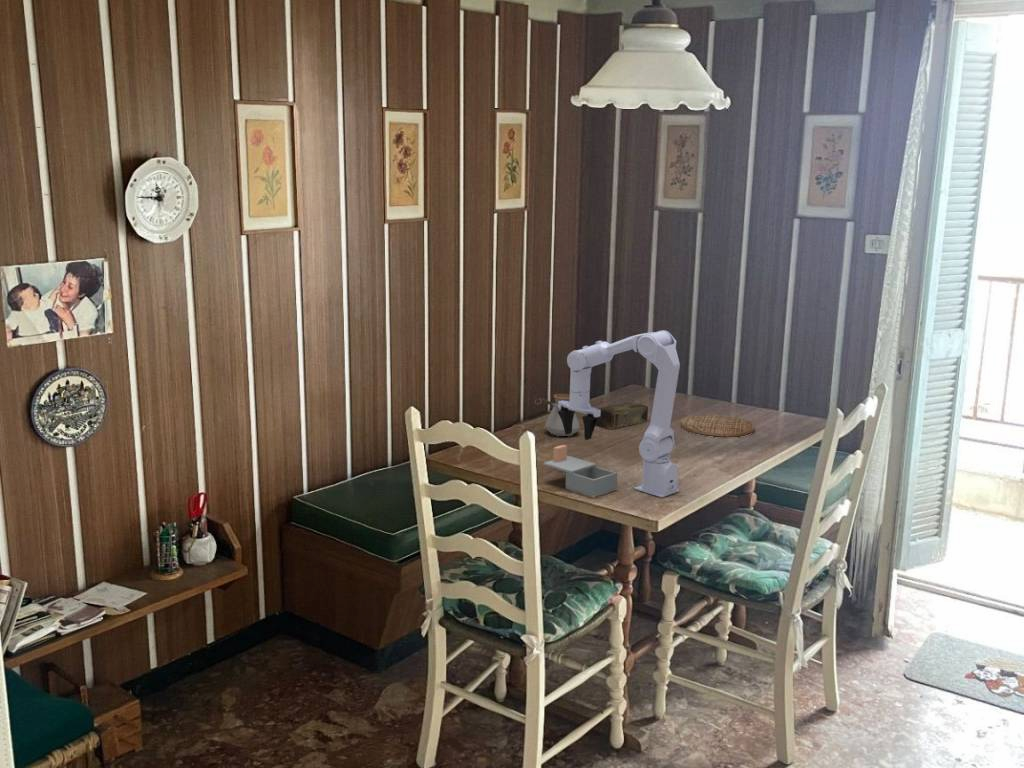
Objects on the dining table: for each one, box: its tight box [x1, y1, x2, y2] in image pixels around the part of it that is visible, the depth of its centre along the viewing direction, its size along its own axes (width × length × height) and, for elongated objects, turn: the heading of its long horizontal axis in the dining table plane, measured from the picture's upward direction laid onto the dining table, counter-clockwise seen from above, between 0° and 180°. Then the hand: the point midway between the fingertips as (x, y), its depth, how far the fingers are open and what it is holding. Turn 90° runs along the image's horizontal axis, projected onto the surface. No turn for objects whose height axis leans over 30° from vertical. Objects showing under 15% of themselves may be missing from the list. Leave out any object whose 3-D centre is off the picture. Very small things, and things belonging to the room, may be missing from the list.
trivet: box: [679, 414, 756, 438], centre depth 346 cm, size 25×25×2 cm
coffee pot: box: [534, 393, 581, 437], centre depth 329 cm, size 21×12×15 cm, turn 145°
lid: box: [543, 444, 597, 473], centre depth 283 cm, size 10×10×5 cm
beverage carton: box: [596, 401, 649, 430], centre depth 348 cm, size 8×19×7 cm, turn 130°
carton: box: [564, 465, 618, 499], centre depth 278 cm, size 10×10×5 cm
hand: (577, 436), depth 293 cm, fingers open, 7 cm apart
